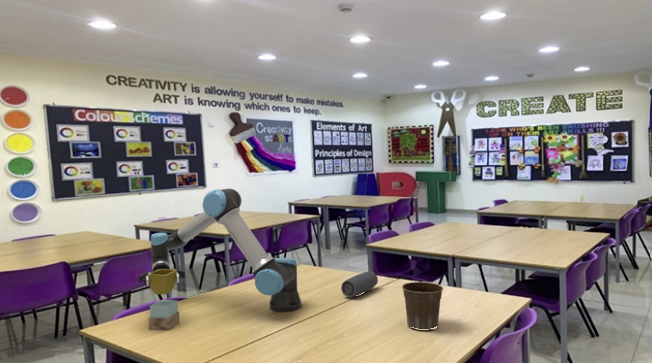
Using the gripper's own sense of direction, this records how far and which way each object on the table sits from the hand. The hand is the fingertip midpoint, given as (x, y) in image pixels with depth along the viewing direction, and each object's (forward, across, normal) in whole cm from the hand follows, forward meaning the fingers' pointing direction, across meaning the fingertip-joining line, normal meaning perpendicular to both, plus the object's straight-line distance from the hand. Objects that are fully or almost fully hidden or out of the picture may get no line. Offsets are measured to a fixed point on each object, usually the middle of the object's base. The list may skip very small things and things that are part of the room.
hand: (163, 281), depth 184 cm
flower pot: (-4, 0, -6) cm, 7 cm away
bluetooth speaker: (-8, -95, -20) cm, 97 cm away
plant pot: (+45, -97, -20) cm, 108 cm away
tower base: (-4, 0, -20) cm, 21 cm away
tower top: (-4, 0, -15) cm, 16 cm away
